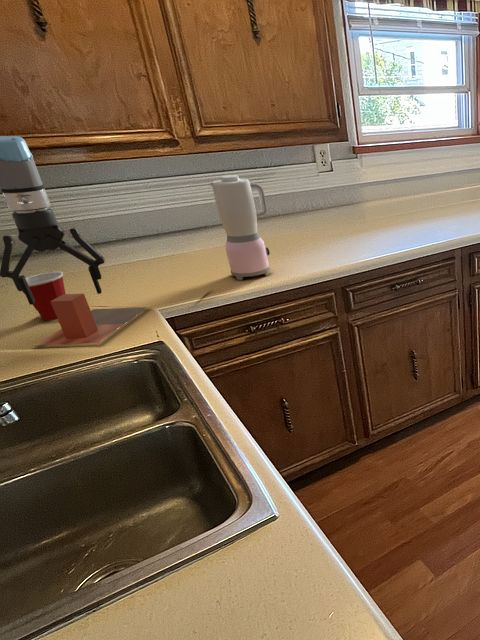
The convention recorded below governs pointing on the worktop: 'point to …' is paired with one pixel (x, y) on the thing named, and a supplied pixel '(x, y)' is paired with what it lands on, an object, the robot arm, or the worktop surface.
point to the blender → (241, 225)
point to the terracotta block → (74, 315)
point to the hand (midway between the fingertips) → (67, 297)
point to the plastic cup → (46, 292)
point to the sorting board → (105, 323)
